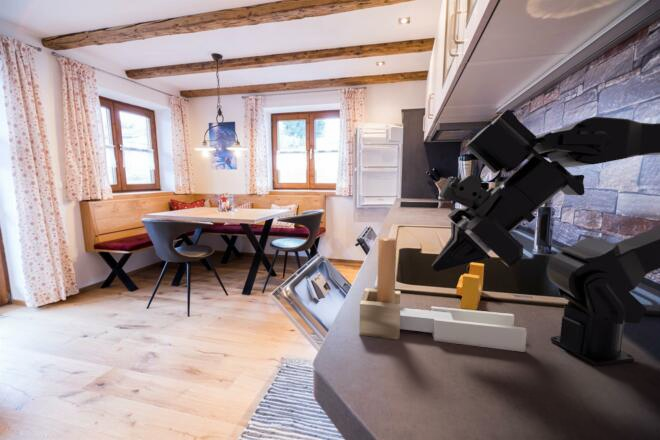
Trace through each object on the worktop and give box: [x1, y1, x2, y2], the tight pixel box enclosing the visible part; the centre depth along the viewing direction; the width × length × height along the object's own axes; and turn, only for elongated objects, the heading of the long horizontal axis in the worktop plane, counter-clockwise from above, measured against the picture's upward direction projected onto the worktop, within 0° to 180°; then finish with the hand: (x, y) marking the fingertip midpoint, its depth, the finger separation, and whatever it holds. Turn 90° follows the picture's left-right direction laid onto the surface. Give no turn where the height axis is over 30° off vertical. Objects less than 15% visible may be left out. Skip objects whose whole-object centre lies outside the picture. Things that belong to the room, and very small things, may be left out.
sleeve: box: [430, 305, 528, 353], centre depth 44 cm, size 12×5×3 cm, turn 76°
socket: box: [358, 287, 401, 341], centre depth 47 cm, size 6×7×5 cm
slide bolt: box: [376, 237, 453, 334], centre depth 45 cm, size 12×3×14 cm, turn 76°
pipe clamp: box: [455, 262, 485, 311], centre depth 59 cm, size 12×4×6 cm, turn 148°
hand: (433, 268), depth 44 cm, fingers closed
